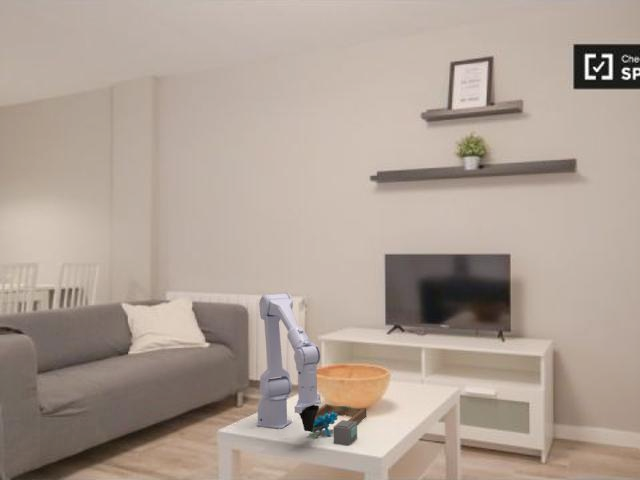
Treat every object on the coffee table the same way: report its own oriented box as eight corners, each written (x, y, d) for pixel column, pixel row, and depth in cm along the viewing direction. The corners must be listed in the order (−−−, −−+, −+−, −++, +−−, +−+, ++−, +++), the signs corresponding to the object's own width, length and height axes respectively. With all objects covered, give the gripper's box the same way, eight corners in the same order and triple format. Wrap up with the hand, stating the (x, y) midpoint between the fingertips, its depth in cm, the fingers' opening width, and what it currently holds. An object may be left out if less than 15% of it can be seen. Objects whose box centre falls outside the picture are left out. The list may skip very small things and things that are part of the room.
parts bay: (307, 425, 191) (307, 415, 191) (325, 412, 205) (325, 403, 205) (351, 430, 185) (350, 420, 185) (366, 417, 199) (366, 407, 199)
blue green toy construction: (332, 422, 188) (339, 406, 182) (340, 438, 185) (347, 423, 178) (302, 432, 184) (307, 416, 177) (309, 448, 180) (315, 433, 173)
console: (333, 443, 173) (333, 426, 173) (342, 436, 180) (341, 419, 180) (349, 445, 171) (349, 428, 171) (357, 438, 177) (357, 421, 177)
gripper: (309, 392, 165) (310, 439, 165) (329, 381, 178) (329, 424, 178) (287, 390, 168) (288, 436, 168) (308, 379, 181) (309, 422, 181)
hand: (308, 430), depth 173 cm, fingers closed
